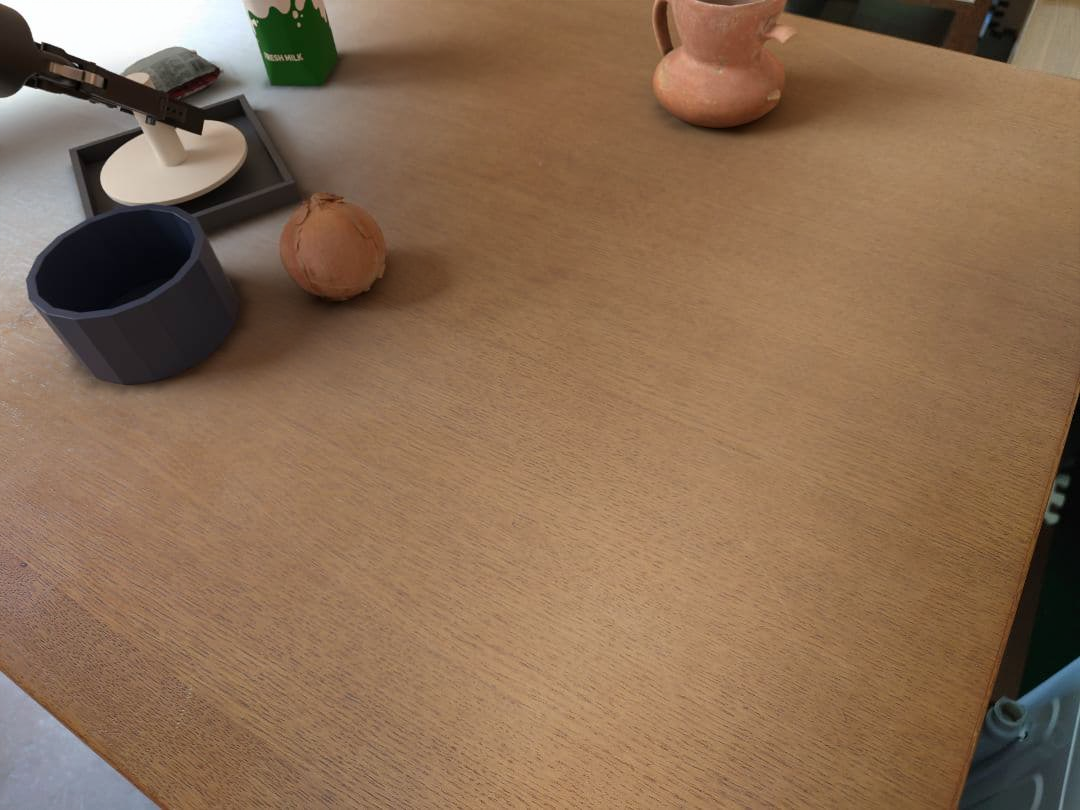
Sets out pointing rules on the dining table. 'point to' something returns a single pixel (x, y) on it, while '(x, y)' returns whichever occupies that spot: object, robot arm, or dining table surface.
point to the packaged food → (176, 71)
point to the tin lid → (172, 161)
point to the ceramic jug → (719, 60)
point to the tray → (232, 202)
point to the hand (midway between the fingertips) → (188, 119)
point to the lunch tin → (134, 293)
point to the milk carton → (293, 40)
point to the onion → (332, 248)
